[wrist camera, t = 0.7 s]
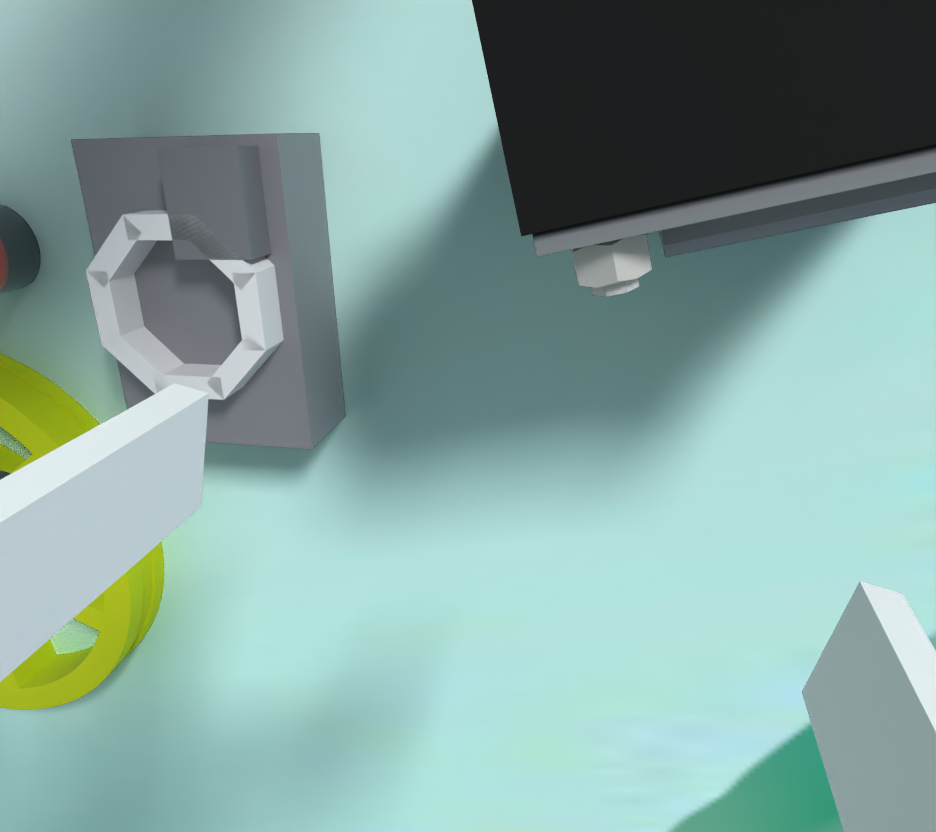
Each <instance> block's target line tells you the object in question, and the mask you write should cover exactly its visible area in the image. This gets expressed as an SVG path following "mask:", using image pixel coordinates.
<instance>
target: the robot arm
mask: <svg viewBox="0 0 936 832" xmlns="http://www.w3.org/2000/svg"><path fill="white" fill-rule="evenodd" d="M208 397H209V393H206V392H203V391H199V390H196V389H192V388H189V387H186V386H182V385H179V384H175V383H174V384H173V385H171V386H169V387H167V388H165V389H164V390H162V391H160V392H158V393H156V394H155V395H153V396H151V397H149V398H147V399H146V400H144V401H142V402H140V403H138V404H136V405H135V406H133V407H131V408H129V409H127V410H126V411H124V412H122V413H120V414H118V415H117V416H115V417H113V418H111V419H109V420H108V421H106V422H104V423H102V424H100V425H98V426H97V427H95V428H93V429H91V430H89V431H88V432H86V433H84V434H82V435H80V436H79V437H77V438H75V439H73V440H71V441H70V442H68V443H66V444H64V445H62V446H61V447H59V448H57V449H55V450H53V451H51V452H50V453H48V454H46V455H44V456H42V457H41V458H39V459H37V460H35V461H33V462H32V463H30V464H28V465H26V466H24V467H23V468H21V469H19V470H17V471H15V472H13V473H8V472H5V471H0V682H1V681H2V680H3V679H4V678H5V677H6V676H8V675H9V674H10V673H11V672H12V671H13V670H14V669H16V668H17V667H18V666H19V665H20V664H21V663H23V662H24V661H25V660H26V659H27V658H28V657H29V656H31V655H32V654H33V653H34V652H35V651H36V650H37V649H39V648H40V647H41V646H42V645H43V644H44V643H45V642H47V641H48V640H49V639H50V638H51V637H52V636H53V635H55V634H56V633H57V632H58V631H59V630H60V629H61V628H63V627H64V626H65V625H66V624H67V623H68V622H69V621H71V620H72V619H73V618H74V617H75V616H76V615H78V614H79V613H80V612H81V611H82V610H83V609H84V608H86V607H87V606H88V605H89V604H90V603H91V602H92V601H94V600H95V599H96V598H97V597H98V596H99V595H100V594H102V593H103V592H104V591H105V590H106V589H107V588H108V587H110V586H111V585H112V584H113V583H114V582H115V581H116V580H118V579H119V578H120V577H121V576H122V575H123V574H124V573H126V572H127V571H128V570H129V569H130V568H131V567H133V566H134V565H135V564H136V563H137V562H138V561H139V560H141V559H142V558H143V557H144V556H145V555H146V554H147V553H149V552H150V551H151V550H152V549H153V548H154V547H155V546H157V545H158V544H159V543H160V542H161V541H162V540H163V539H165V538H166V537H167V536H168V535H169V534H170V533H171V532H173V531H174V530H175V529H176V528H177V527H178V526H179V525H181V524H182V523H183V522H184V521H185V520H186V519H188V518H189V517H190V516H191V515H192V514H193V513H194V512H196V511H197V510H198V509H199V508H200V507H201V502H202V487H203V472H204V457H205V442H206V427H207V412H208ZM802 694H803V698H804V701H805V704H806V708H807V711H808V714H809V718H810V721H811V724H812V727H813V731H814V734H815V737H816V741H817V744H818V747H819V750H820V754H821V757H822V760H823V764H824V767H825V770H826V774H827V777H828V780H829V784H830V787H831V790H832V793H833V797H834V800H835V804H836V807H837V810H838V813H839V817H840V820H841V823H842V827H843V830H844V832H936V651H935V649H934V647H933V646H932V644H931V642H930V640H929V639H928V637H927V635H926V634H925V632H924V630H923V628H922V627H921V625H920V623H919V622H918V620H917V618H916V616H915V615H914V613H913V611H912V610H911V608H910V606H909V604H908V603H907V601H906V599H905V598H904V596H903V594H902V593H898V592H895V591H891V590H888V589H884V588H881V587H877V586H874V585H871V584H867V583H864V582H859V584H858V586H857V588H856V590H855V591H854V593H853V595H852V597H851V599H850V601H849V603H848V605H847V607H846V609H845V610H844V612H843V614H842V616H841V618H840V620H839V622H838V624H837V626H836V628H835V630H834V631H833V633H832V635H831V637H830V639H829V641H828V643H827V645H826V647H825V649H824V650H823V652H822V654H821V656H820V658H819V660H818V662H817V664H816V666H815V668H814V669H813V671H812V673H811V675H810V677H809V679H808V681H807V683H806V685H805V687H804V689H803V690H802Z"/></svg>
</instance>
